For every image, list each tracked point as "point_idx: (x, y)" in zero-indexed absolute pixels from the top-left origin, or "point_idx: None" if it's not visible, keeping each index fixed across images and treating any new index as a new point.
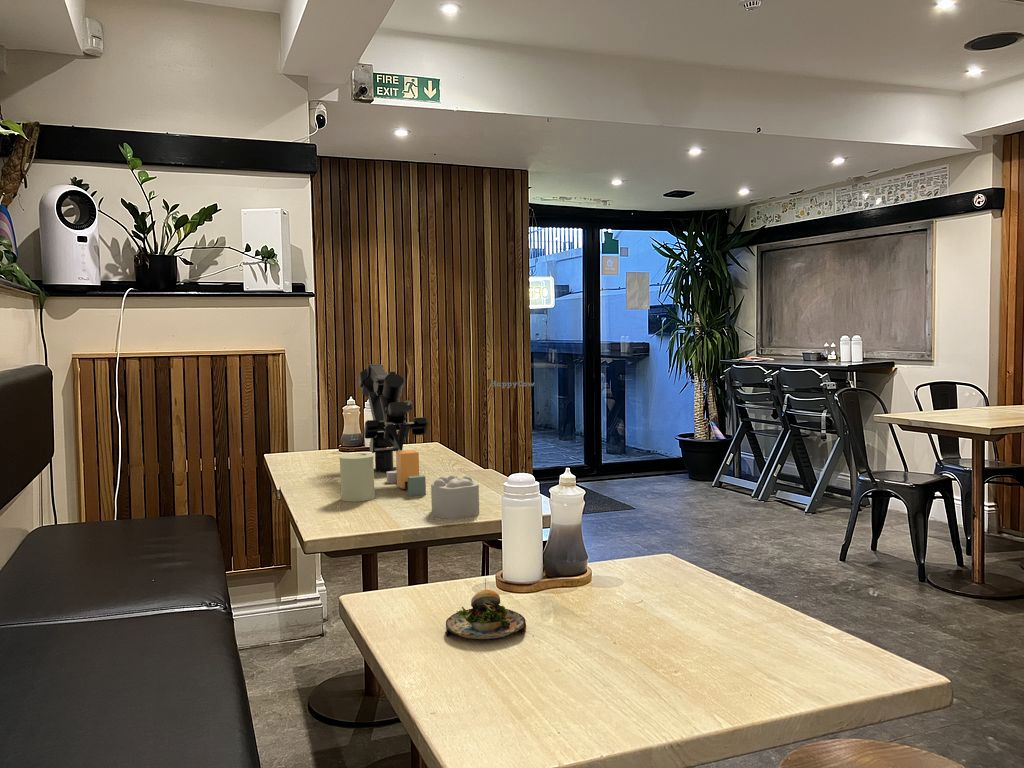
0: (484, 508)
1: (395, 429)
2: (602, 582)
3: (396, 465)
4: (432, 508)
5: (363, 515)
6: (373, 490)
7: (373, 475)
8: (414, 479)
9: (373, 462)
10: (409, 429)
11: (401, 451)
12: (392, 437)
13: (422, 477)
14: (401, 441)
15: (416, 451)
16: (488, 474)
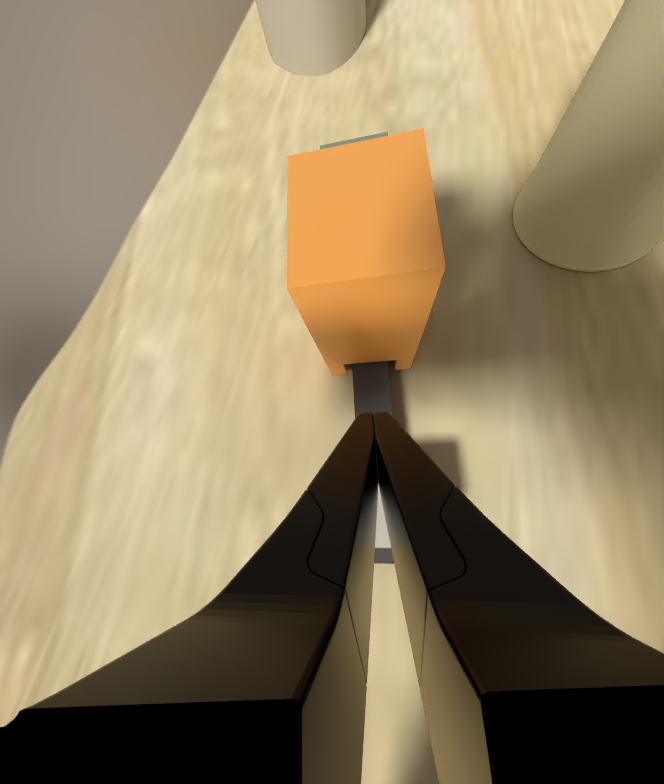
0: (242, 54)
1: (512, 688)
2: None
3: (424, 324)
4: (365, 3)
5: (550, 17)
6: (533, 171)
7: (571, 104)
8: None
9: (625, 14)
10: (34, 751)
11: (400, 227)
12: (498, 712)
13: (332, 146)
14: (356, 455)
15: (289, 197)
16: (15, 491)
